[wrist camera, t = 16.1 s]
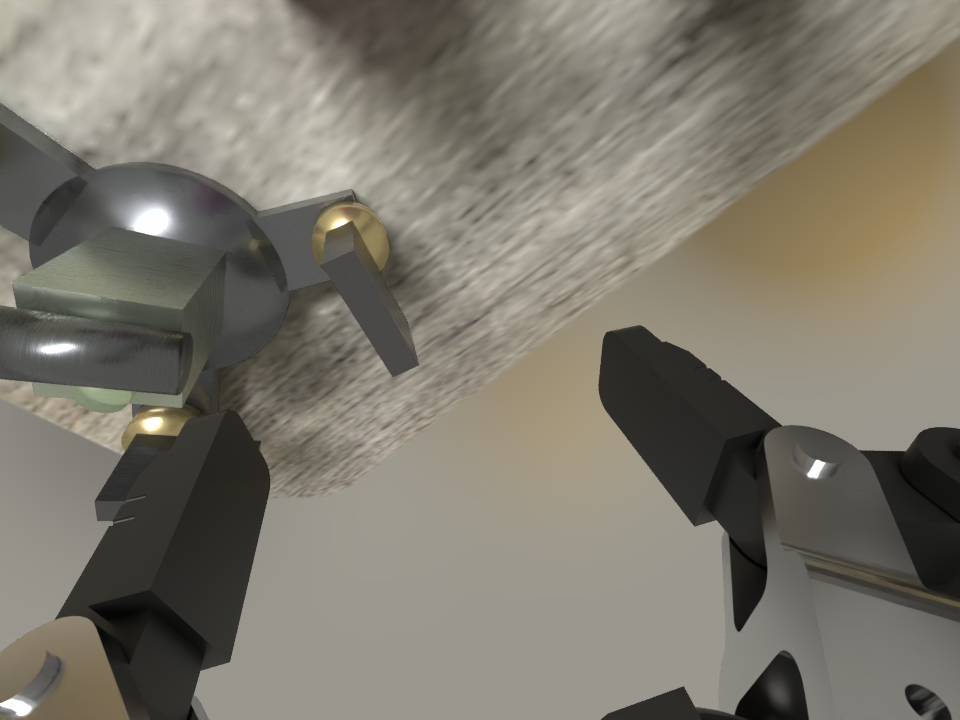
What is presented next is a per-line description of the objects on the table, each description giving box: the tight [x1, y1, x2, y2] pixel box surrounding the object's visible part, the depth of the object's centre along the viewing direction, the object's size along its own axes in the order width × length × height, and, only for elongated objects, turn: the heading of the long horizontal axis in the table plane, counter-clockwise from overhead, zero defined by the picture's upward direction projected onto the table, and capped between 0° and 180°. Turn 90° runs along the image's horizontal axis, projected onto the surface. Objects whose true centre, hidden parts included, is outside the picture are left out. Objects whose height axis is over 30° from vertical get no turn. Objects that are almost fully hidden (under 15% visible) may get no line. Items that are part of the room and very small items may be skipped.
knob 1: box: [95, 403, 261, 521], centre depth 29 cm, size 9×5×8 cm, turn 70°
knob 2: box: [312, 201, 419, 377], centre depth 26 cm, size 9×5×8 cm, turn 20°
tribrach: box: [0, 104, 356, 418], centre depth 24 cm, size 25×22×14 cm
